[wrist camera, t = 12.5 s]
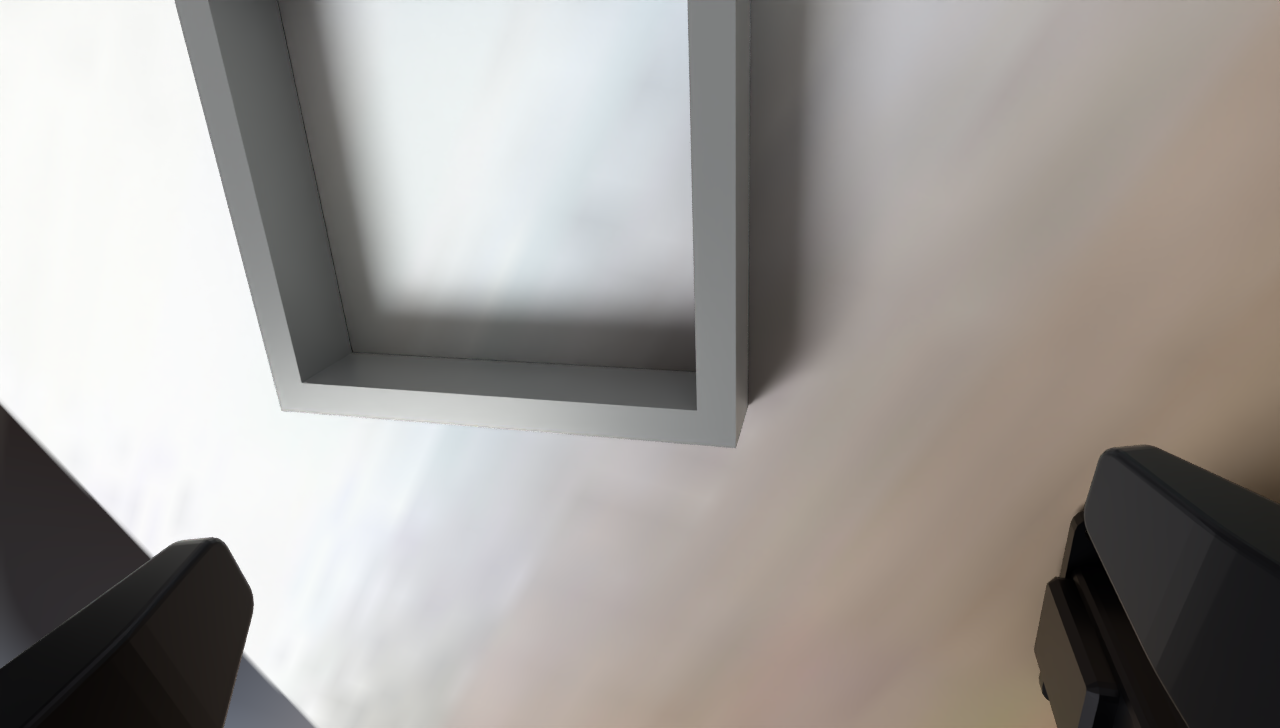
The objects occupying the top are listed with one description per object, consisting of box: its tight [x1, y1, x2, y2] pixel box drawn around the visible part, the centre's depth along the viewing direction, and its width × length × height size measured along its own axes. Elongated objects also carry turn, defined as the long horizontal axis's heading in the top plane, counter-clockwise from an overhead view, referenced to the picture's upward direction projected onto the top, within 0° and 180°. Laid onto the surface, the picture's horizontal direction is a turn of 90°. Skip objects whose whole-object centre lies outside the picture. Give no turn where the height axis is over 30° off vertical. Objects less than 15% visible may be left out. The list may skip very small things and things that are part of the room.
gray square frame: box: [175, 0, 751, 448], centre depth 20 cm, size 14×13×2 cm
